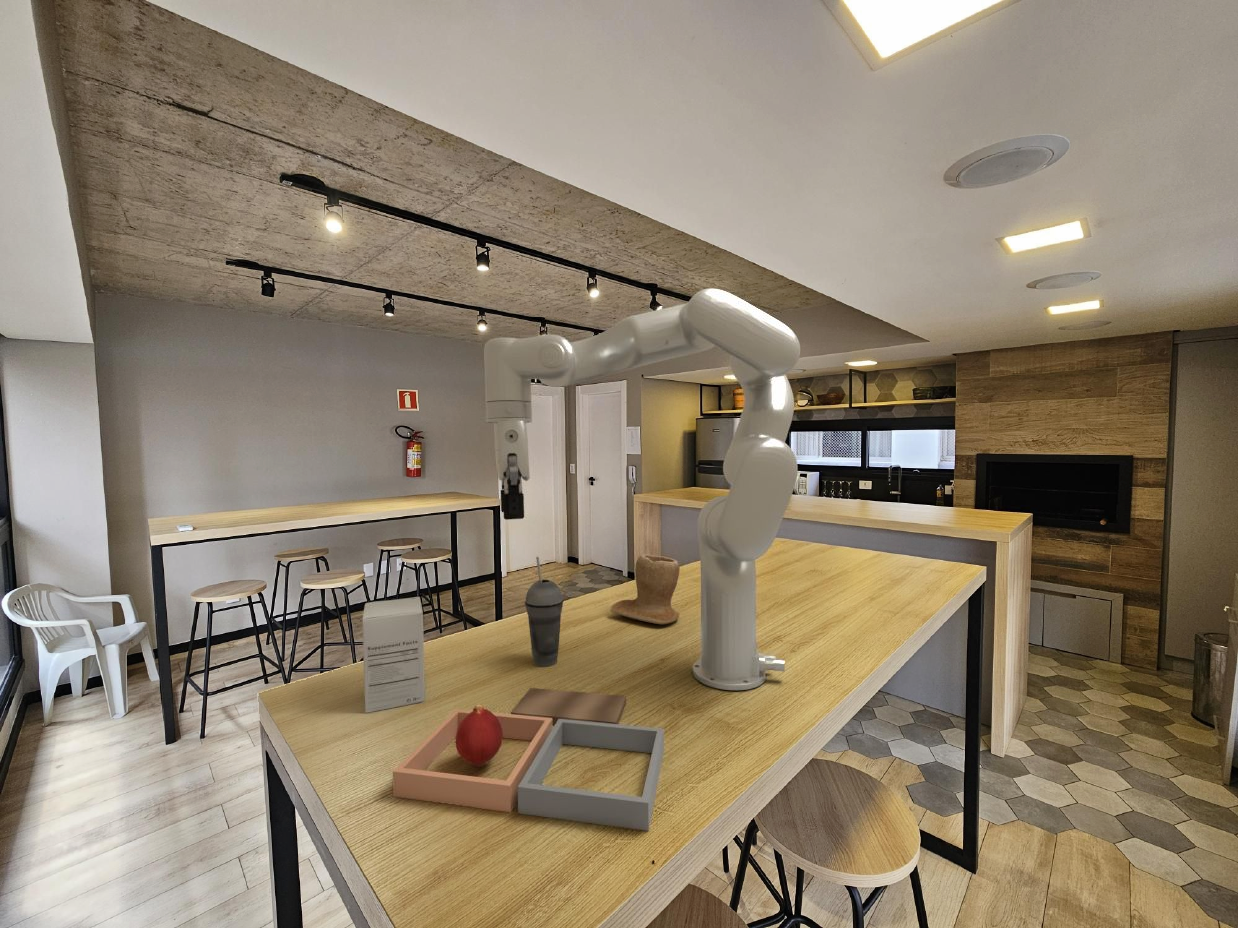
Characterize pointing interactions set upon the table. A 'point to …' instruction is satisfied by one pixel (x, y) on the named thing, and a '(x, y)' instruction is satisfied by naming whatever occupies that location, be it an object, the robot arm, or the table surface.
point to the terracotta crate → (468, 788)
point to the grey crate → (593, 803)
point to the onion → (479, 736)
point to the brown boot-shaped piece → (652, 591)
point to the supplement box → (393, 653)
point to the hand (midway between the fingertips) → (512, 515)
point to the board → (571, 706)
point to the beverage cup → (544, 620)
